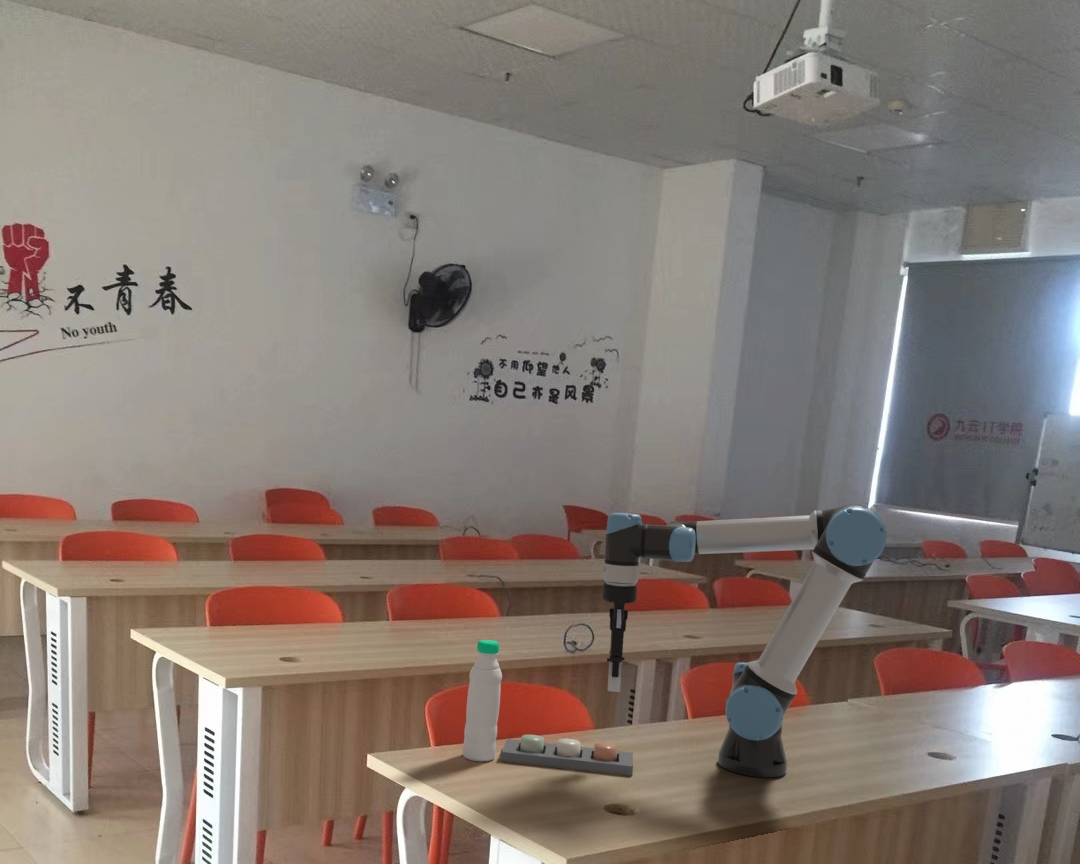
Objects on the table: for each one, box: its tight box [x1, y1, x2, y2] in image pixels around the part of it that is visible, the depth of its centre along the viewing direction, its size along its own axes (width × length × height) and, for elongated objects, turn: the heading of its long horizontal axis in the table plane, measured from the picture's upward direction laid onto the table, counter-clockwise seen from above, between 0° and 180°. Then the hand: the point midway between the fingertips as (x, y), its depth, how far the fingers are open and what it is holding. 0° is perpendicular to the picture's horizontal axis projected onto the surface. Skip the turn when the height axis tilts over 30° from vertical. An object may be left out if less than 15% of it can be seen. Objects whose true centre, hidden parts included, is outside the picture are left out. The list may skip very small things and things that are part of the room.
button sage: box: [520, 734, 545, 754], centre depth 231 cm, size 5×5×4 cm
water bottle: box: [462, 639, 503, 763], centre depth 228 cm, size 7×7×25 cm
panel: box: [500, 738, 634, 777], centre depth 230 cm, size 28×10×2 cm, turn 85°
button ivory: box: [557, 738, 582, 758], centre depth 230 cm, size 5×5×4 cm
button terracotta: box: [593, 742, 619, 762], centre depth 229 cm, size 5×5×4 cm
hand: (613, 690), depth 233 cm, fingers closed
